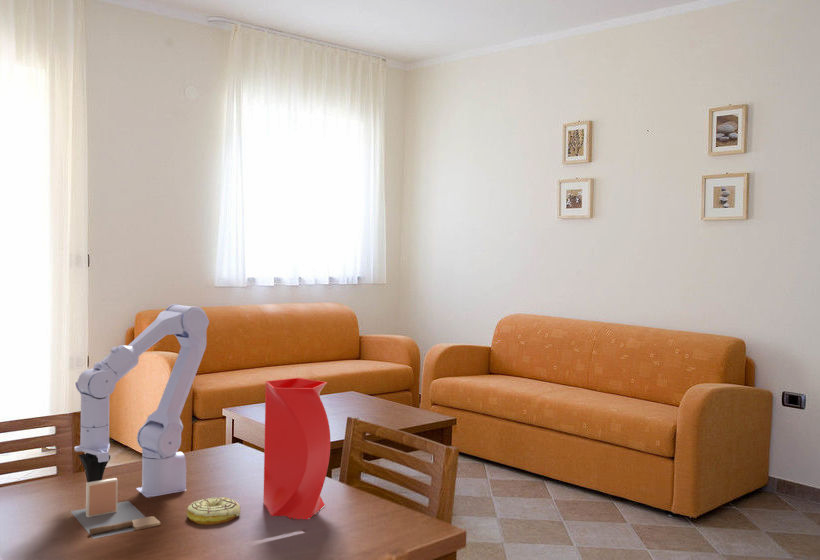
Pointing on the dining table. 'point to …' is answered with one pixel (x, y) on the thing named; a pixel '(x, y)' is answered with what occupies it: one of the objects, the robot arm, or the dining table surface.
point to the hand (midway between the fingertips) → (94, 486)
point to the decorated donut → (213, 510)
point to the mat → (109, 519)
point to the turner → (127, 525)
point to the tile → (101, 497)
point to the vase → (295, 447)
